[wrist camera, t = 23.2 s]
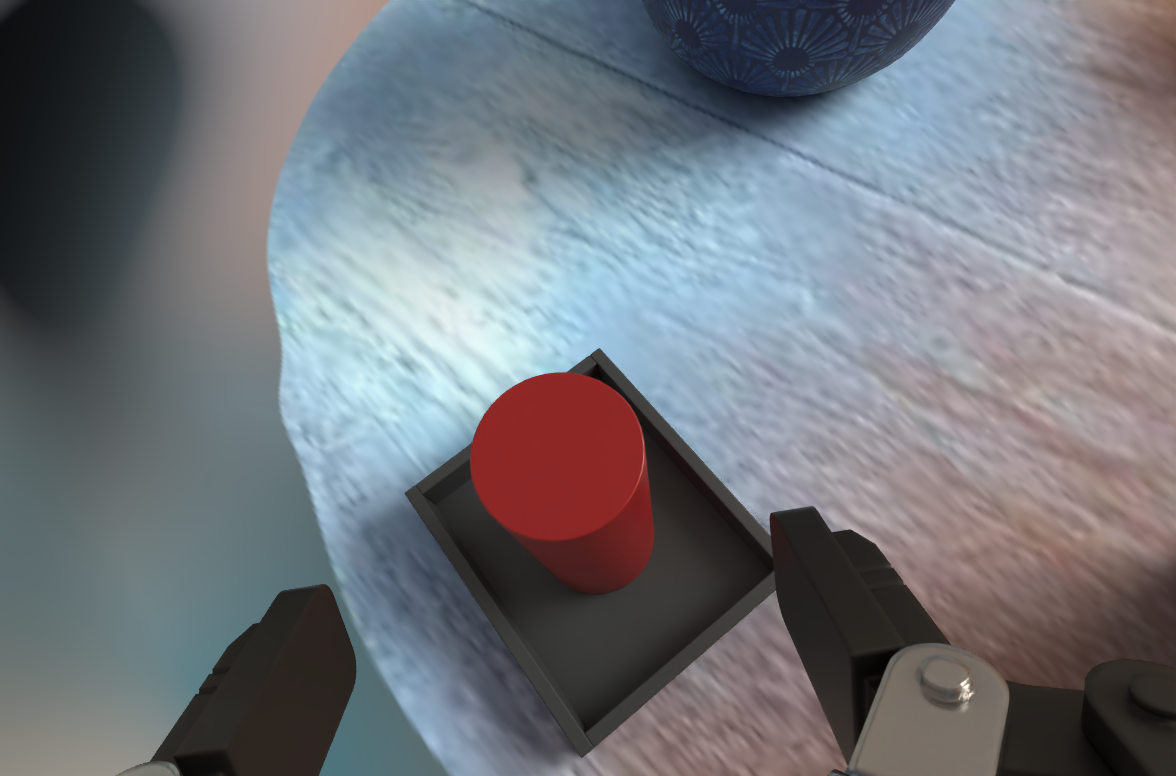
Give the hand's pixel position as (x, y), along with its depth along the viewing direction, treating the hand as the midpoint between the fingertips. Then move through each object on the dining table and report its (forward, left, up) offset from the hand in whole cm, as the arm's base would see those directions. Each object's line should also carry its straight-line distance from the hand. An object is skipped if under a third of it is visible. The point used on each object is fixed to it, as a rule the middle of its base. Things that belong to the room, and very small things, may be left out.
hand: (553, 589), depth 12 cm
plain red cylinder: (+2, +4, -18) cm, 19 cm away
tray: (+2, +4, -19) cm, 19 cm away
